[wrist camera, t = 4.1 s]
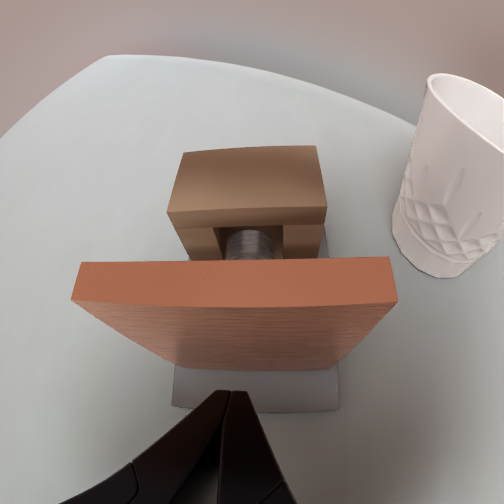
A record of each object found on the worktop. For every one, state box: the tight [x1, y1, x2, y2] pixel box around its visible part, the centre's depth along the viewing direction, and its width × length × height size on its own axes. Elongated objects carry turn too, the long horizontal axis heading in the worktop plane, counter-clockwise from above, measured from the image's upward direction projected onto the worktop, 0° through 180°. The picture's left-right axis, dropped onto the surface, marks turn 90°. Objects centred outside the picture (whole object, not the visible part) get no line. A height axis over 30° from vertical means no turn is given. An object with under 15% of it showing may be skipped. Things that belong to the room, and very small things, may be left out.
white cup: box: [392, 73, 504, 278], centre depth 12 cm, size 8×8×10 cm
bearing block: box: [167, 146, 339, 413], centre depth 12 cm, size 10×8×7 cm
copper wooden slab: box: [71, 230, 398, 372], centre depth 10 cm, size 5×7×9 cm
